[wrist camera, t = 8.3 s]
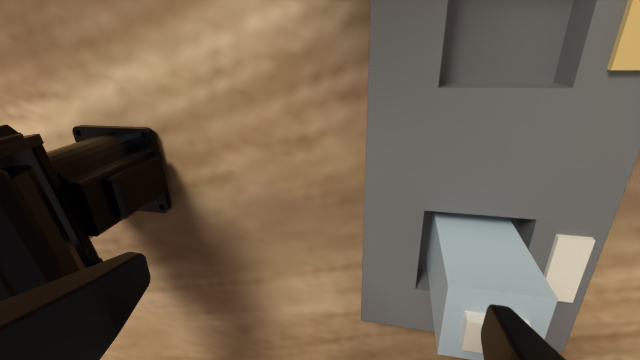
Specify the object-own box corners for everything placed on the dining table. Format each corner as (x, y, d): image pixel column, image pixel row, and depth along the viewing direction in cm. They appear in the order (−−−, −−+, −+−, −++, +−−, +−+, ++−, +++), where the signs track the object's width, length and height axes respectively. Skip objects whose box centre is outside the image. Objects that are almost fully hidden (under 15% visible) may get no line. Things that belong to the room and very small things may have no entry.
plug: (426, 260, 21) (438, 365, 14) (432, 206, 20) (450, 296, 13) (492, 268, 20) (539, 383, 14) (505, 212, 19) (564, 311, 12)
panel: (364, 294, 24) (360, 324, 22) (379, -121, 15) (374, -154, 12) (545, 319, 22) (565, 356, 19) (707, -165, 12) (787, -217, 10)
